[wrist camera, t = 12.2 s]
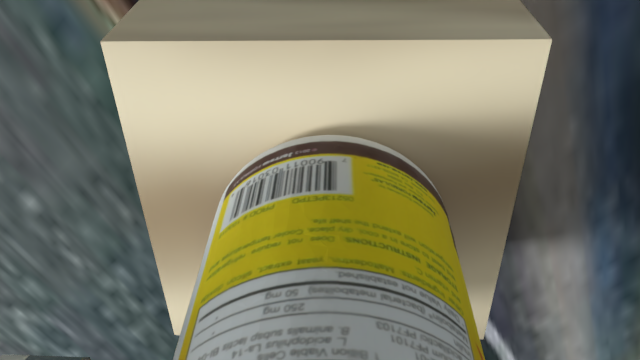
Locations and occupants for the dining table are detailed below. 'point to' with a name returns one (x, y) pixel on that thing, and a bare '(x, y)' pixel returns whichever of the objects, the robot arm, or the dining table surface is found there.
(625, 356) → the dining table surface
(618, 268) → the dining table surface
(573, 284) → the dining table surface
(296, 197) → the supplement bottle
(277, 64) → the beech block
